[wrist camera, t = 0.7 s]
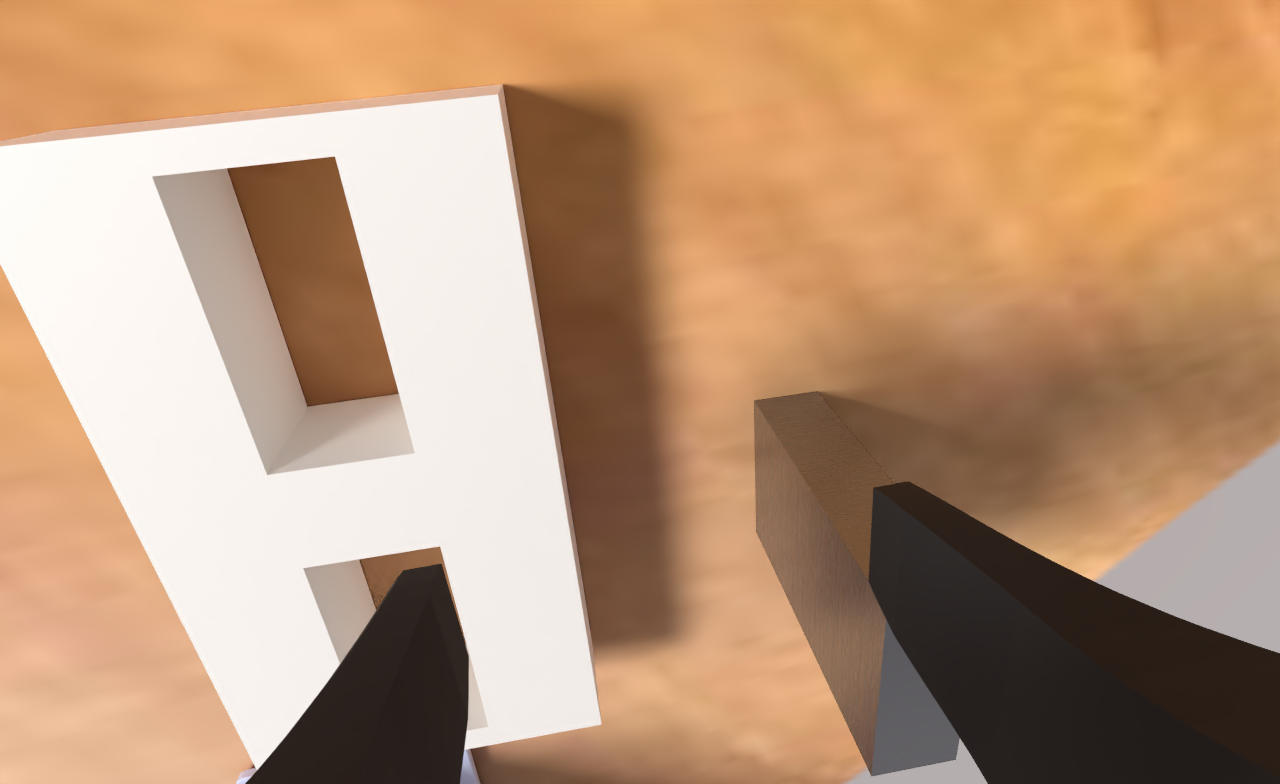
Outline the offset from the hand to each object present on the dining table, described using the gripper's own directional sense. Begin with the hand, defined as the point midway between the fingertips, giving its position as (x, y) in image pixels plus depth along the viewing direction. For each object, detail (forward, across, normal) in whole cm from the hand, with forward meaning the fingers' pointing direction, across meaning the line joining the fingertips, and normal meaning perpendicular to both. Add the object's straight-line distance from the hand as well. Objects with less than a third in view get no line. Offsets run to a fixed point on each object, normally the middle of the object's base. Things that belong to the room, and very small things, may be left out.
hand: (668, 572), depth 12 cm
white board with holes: (+10, +7, +2) cm, 12 cm away
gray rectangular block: (+10, -5, +5) cm, 12 cm away
